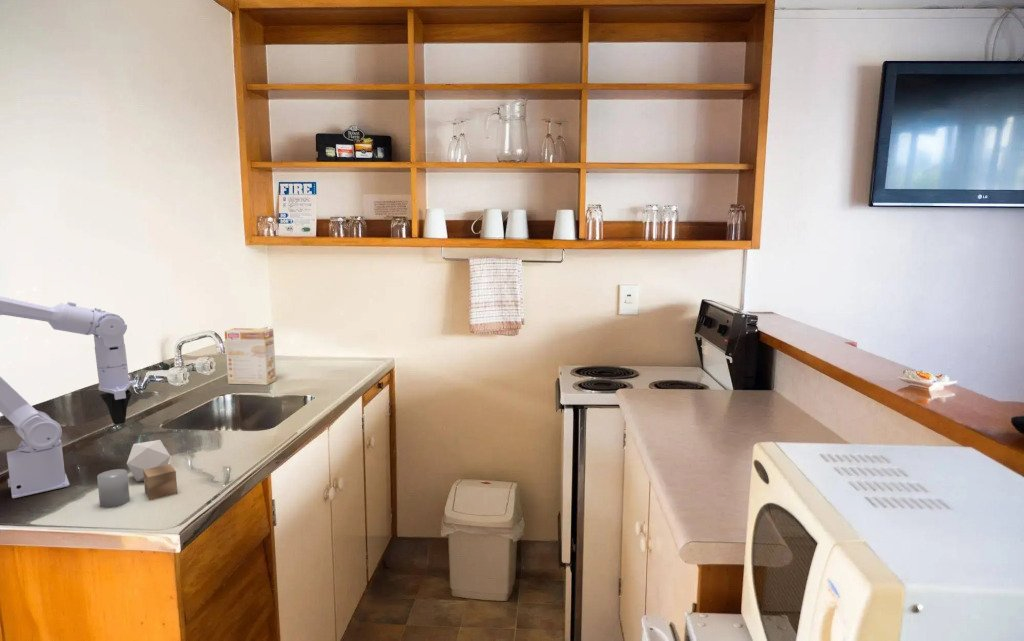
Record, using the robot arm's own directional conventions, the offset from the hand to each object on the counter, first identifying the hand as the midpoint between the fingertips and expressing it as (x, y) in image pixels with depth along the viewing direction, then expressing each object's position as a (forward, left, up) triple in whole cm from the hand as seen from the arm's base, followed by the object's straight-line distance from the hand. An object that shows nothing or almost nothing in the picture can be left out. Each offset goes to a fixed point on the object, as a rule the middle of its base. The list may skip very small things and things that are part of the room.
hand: (119, 423), depth 138 cm
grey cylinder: (-5, -21, -10) cm, 24 cm away
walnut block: (+3, -22, -11) cm, 25 cm away
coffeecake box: (+49, +63, -11) cm, 81 cm away
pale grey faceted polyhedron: (+3, -11, -11) cm, 16 cm away
